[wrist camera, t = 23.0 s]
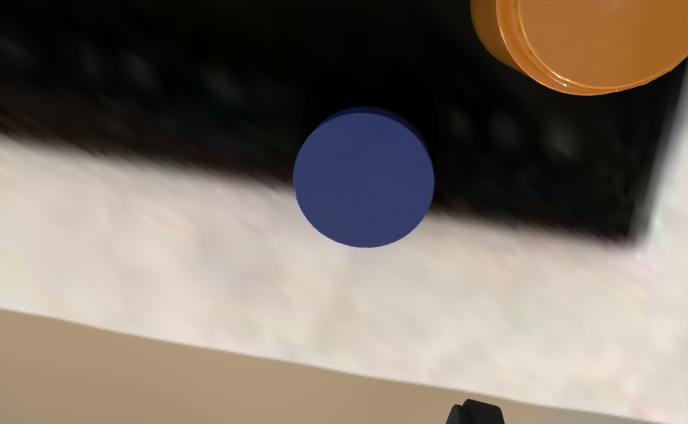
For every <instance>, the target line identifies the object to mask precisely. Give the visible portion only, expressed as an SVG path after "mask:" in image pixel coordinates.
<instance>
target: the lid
mask: <svg viewBox="0 0 688 424" xmlns="http://www.w3.org/2000/svg"><path fill="white" fill-rule="evenodd" d="M293 183H294V191H295V195H296V199H297V201H298V204H299V206H300V208H301V210H302V212H303V214H304V215H305V217H306V218H307V220H308V221H309V222H310V223H311V224H312V225H313V227H315V228H316V229H317V230H318V231H319V232H320V233H322V234H323V235H325V236H326V237H328V238H329V239H331V240H333V241H335V242H338V243H340V244H343V245H347V246H351V247H358V248H373V247H380V246H384V245H388V244H390V243H393V242H396V241H397V240H399V239H401V238H403V237H404V236H406V235H407V234H409V233H410V232H411V231H412V230H413V229H414V228H416V227H417V225H418V224H419V223H420V222H421V221H422V219H423V218H424V216H425V215H426V213H427V211H428V209H429V207H430V204H431V201H432V198H433V193H434V171H433V164H432V158H431V154H430V151H429V149H428V146H427V144H426V142H425V140H424V139H423V137H422V135H421V134H420V133H419V132H418V130H417V129H416V128H415V127H414V126H413V125H412V124H411V123H410V122H408V121H407V120H406V119H404V118H403V117H401V116H399V115H397V114H396V113H394V112H391V111H388V110H386V109H381V108H377V107H368V106H366V107H354V108H349V109H345V110H342V111H340V112H337V113H335V114H333V115H331V116H330V117H328V118H327V119H325V120H324V121H323V122H322V123H320V124H319V125H318V126H317V127H316V129H315V130H314V131H313V132H312V133H311V134H310V136H309V137H308V138H307V139H306V141H305V142H304V144H303V145H302V147H301V149H300V151H299V153H298V156H297V159H296V162H295V167H294V174H293Z"/></svg>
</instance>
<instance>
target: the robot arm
mask: <svg viewBox="0 0 688 424" xmlns="http://www.w3.org/2000/svg"><path fill="white" fill-rule="evenodd" d="M446 424H505V423H504V419H503V415H502V412H501V409H500V408H499V407H498V406H495V405H491V404H487V403H483V402H479V401H475V400H471V399H467V400H466V401H465V402H464V404H463V406H461V405H457V404H455V405H454V406H453V407H452V409H451V412H450V414H449V417H448V419H447V422H446Z"/></svg>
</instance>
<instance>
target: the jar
mask: <svg viewBox="0 0 688 424" xmlns="http://www.w3.org/2000/svg"><path fill="white" fill-rule="evenodd" d="M470 10H471V17H472V22H473V25H474V29H475V31H476V33H477V35H478V38H479V39H480V41H481V42H482V44H483V45H484V47H485V48H486V49H487V50H488V51H489V52H490V53H491V54H492V55H493V56H494V57H495V58H497V59H498V60H500V61H501V62H503V63H505V64H506V65H508V66H510V67H512V68H514V69H515V70H517V71H519V72H521V73H523V74H524V75H526V76H528V77H530V78H531V79H533V80H535V81H537V82H539V83H540V84H543V85H545V86H547V87H549V88H551V89H554V90H557V91H560V92H563V93H568V94H574V95H600V94H606V93H611V92H618V91H622V90H625V89H629V88H633V87H636V86H640V85H644V84H646V83H648V82H650V81H652V80H654V79H656V78H657V77H659V76H661V75H663V74H665V73H667V72H668V71H671V70H672V69H673V68H674V67H676V66H677V65H678V64H679V63H680V62H681V61H682V60H684V59H685V58H686V57H687V56H688V0H470Z"/></svg>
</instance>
